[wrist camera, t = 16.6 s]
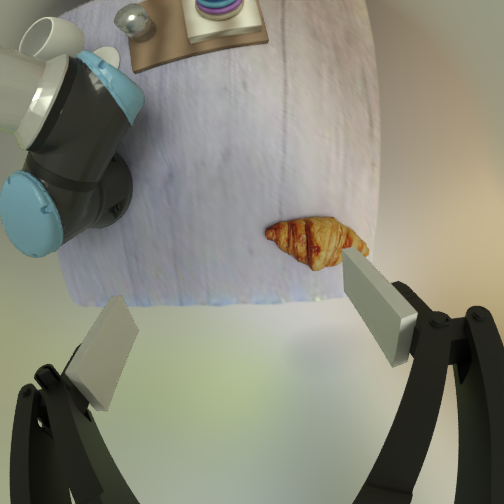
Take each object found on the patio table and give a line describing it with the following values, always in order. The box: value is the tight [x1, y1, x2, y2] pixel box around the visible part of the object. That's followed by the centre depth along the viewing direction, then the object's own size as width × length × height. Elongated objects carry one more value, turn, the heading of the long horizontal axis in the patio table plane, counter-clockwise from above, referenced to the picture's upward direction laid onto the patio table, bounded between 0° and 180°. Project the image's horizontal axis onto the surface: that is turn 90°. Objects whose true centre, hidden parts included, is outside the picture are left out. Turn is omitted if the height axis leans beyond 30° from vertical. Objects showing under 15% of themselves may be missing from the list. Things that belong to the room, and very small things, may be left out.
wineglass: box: [19, 17, 120, 69], centre depth 26 cm, size 9×9×21 cm
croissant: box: [265, 217, 369, 271], centre depth 48 cm, size 21×10×8 cm, turn 80°
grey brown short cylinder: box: [114, 4, 157, 43], centre depth 29 cm, size 5×5×8 cm
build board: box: [128, 0, 269, 74], centre depth 32 cm, size 24×16×4 cm, turn 101°
